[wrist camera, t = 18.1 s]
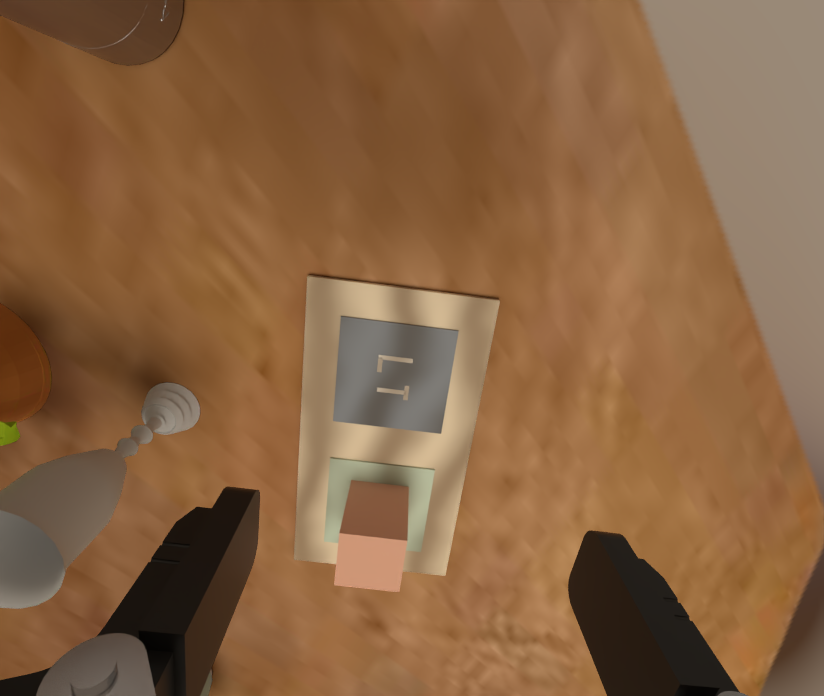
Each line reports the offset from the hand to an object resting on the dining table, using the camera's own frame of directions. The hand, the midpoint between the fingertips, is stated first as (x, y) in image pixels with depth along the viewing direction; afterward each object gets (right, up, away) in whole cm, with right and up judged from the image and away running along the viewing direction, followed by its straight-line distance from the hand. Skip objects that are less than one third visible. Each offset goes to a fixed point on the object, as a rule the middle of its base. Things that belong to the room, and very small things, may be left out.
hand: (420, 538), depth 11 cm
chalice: (-22, -1, +30) cm, 38 cm away
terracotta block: (-4, -11, +33) cm, 35 cm away
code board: (-3, -4, +31) cm, 31 cm away
